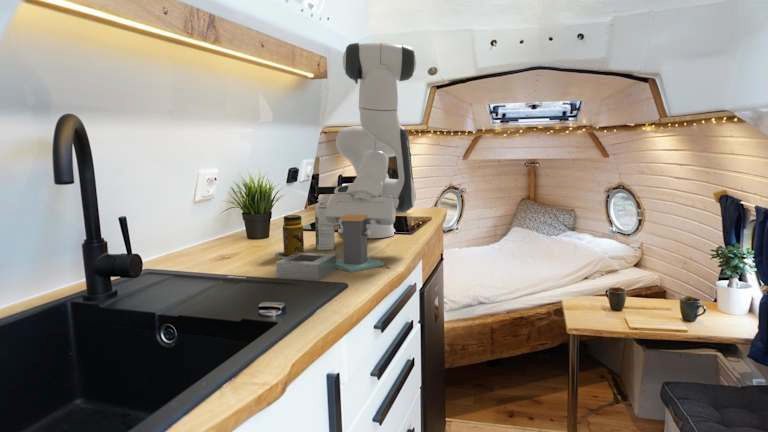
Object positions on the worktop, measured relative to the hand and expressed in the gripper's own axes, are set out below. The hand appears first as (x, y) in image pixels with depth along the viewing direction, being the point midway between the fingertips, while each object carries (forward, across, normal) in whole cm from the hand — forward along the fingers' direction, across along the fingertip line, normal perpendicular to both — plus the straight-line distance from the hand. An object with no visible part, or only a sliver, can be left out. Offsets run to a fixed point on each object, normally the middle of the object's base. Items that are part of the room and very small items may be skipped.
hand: (354, 234), depth 140 cm
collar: (+14, +9, +1) cm, 17 cm away
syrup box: (-7, +17, -20) cm, 27 cm away
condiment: (+1, +24, -12) cm, 26 cm away
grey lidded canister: (+5, 0, -6) cm, 8 cm away
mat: (+6, 0, -6) cm, 9 cm away
